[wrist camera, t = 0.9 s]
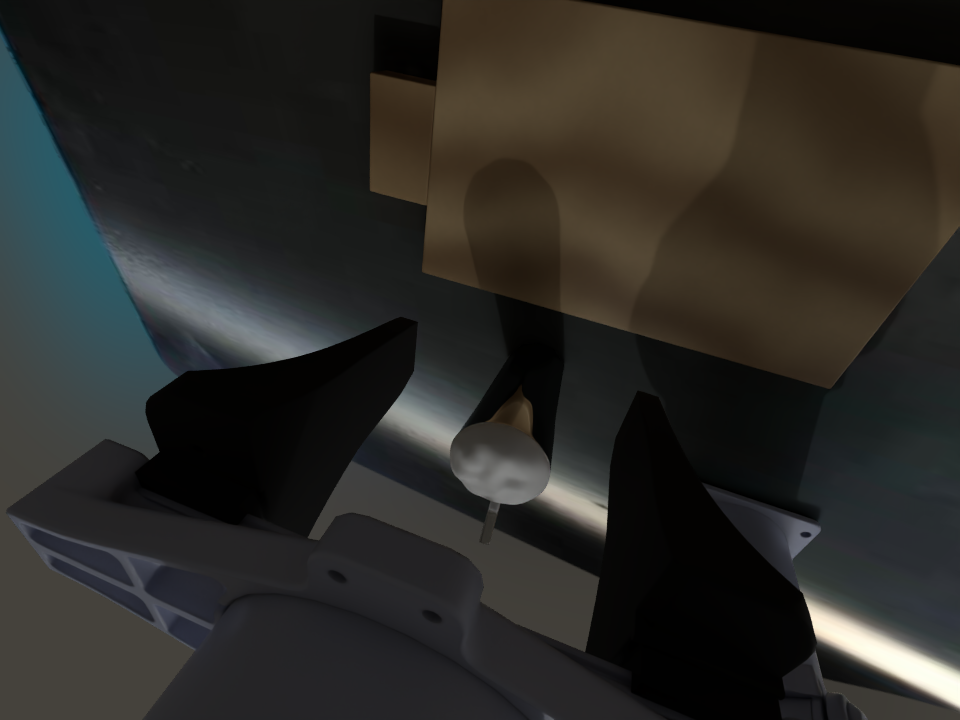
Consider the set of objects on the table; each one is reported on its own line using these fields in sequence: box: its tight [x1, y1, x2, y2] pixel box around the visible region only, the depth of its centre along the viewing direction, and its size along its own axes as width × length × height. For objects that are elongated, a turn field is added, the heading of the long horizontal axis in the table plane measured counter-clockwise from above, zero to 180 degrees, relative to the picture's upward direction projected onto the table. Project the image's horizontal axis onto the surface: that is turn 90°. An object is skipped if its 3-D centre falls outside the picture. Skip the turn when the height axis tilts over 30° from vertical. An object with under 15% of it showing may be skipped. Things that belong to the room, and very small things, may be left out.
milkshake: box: [450, 343, 564, 544], centre depth 23 cm, size 5×5×10 cm
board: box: [370, 0, 960, 389], centre depth 20 cm, size 12×23×2 cm, turn 82°
